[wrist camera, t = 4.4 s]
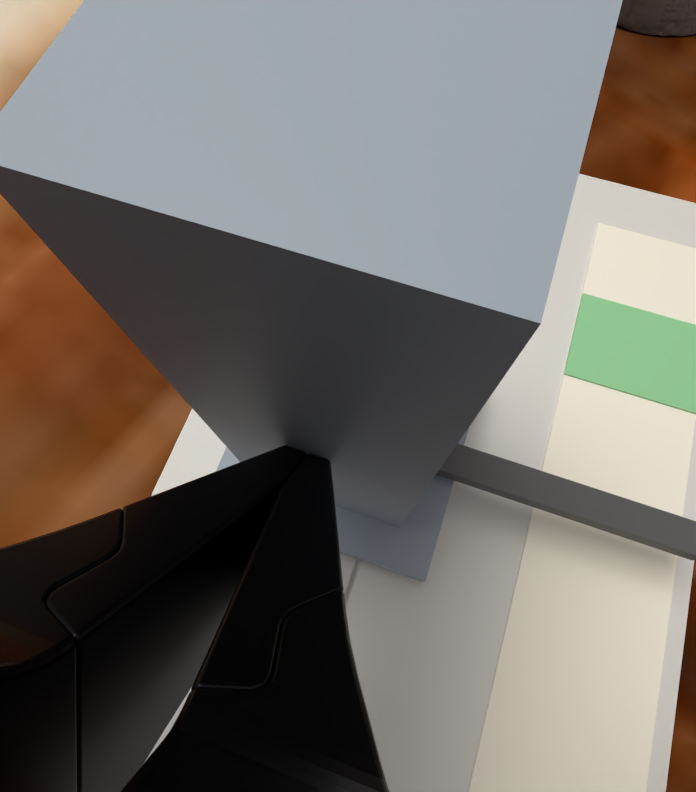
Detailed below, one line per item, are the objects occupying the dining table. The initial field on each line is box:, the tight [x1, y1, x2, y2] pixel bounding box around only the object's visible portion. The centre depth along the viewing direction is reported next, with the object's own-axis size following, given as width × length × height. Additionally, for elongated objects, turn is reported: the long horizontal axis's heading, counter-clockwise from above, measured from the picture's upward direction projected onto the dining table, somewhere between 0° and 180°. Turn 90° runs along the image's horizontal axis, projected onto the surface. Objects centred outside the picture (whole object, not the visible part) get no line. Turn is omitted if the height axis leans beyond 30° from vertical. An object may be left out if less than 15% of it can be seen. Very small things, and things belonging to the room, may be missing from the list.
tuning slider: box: [0, 0, 696, 582], centre depth 9 cm, size 6×12×12 cm, turn 71°
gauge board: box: [144, 174, 696, 792], centre depth 16 cm, size 24×15×2 cm, turn 161°
